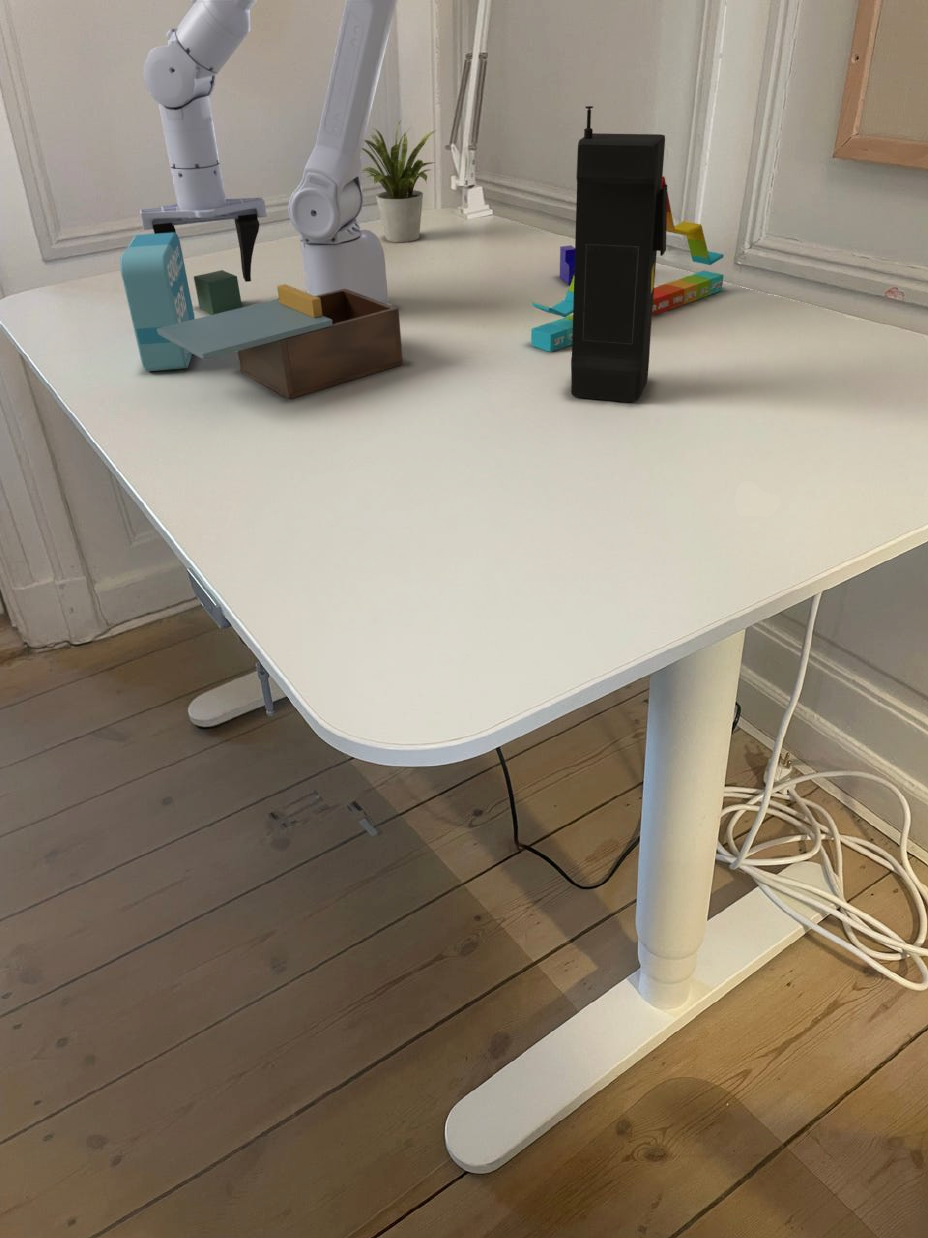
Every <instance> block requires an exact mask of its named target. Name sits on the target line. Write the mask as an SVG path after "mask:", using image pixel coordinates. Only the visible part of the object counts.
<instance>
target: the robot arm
mask: <svg viewBox="0 0 928 1238" xmlns="http://www.w3.org/2000/svg"><path fill="white" fill-rule="evenodd" d="M189 1H190V3H191V4H192V6H191V7H190V8H189V10H188V12H187V13H186V14H185V16H184V17H183V18H182V19H181V21H180V23H178V25H177V26H176V28H175V27H173V28H170V29H169V30H168V31H167V32H166V34H165V37H166V39H167V45H160V46H156V47H153V48H152V49H150V50H149V51H148V53H147V57H146V59H145V61H144V63H143V68H142V69H143V70H142V76H143V81H144V85H145V87H146V89H147V91H148V93H149V95H150V96H151V97H152V99H153V100H155V101H156V102H157V105H158V110H159V115H160V120H161V121H160V122H161V127H162V132H163V137H164V142H165V147H166V153H167V159H168V163H169V168H170V172H171V178H172V183H173V188H174V194H175V199H176V203H174V204H168V205H162V206H157V207H149V208H143V209H142V208H141V209H139V214H140V219H141V224H142V228H143V230H144V231H149V230H152V231H153V234H161V233H176V234H177V232H176V228H175V226H182V225H184V226H185V225H192V224H193V225H194V224H200V223H201V224H202V223H210V222H220V221H228V220H229V221H230V220H233V221H234V225H235V230H236V235H237V241H238V247H239V252H240V253H239V255H240V264H241V273H242V278H243V279H244V282H245V283H249V282H252V262H253V261H252V260H253V254H254V248H255V244H256V240H257V237H258V234H259V232H260V231H259V230H260V221H259V218H266V217H267V210H266V203H265V200H264V198H263V197H262V196H259V197H246V198H243V197H242V198H227V197H226V190H225V185H224V179H223V172H222V167H221V166H222V165H221V161H220V153H219V148H218V142H217V136H216V130H215V124H214V119H213V113H212V106H211V100H210V99H211V95H212V93H213V91H214V90H215V85H216V76H217V75H218V74H219V72H220V71H221V70H222V68H223V67H224V66H225V65H226V64H227V62H228V61H229V59H230V58H231V57H232V56H233V54H234V53H235V52H236V50H237V49H238V48H239V47H240V45H241V44H242V42H243V41H244V40H245V39H246V37H247V36H248V34H249V33H250V32H251V29H252V28H251V27H252V26H251V25H252V24H251V23H252V22H251V9H252V8H253V7H254V5H255V4H256V3H257V2H258V0H189ZM397 2H398V0H345V2H344V6H343V11H342V16H341V20H340V25H339V30H338V35H337V39H336V40H337V41H336V45H335V50H334V54H333V58H332V59H333V60H332V64H331V69H330V74H329V79H328V84H327V88H326V93H325V98H324V102H323V106H322V107H323V108H322V113H321V117H320V121H319V125H318V132H317V137H316V141H315V145H314V148H313V149H312V152H311V154H310V156H309V158H308V160H307V162H306V164H305V166H304V169H303V174H302V178H301V181H300V183H299V184H298V185H297V187H296V188H295V189H294V190H293V191H292V193H291V194H290V197H289V200H288V209H287V211H288V216H289V220H290V222H291V225H292V227H293V228H294V230H295V231H296V232H297V233H298V234H299V235H298V236H299V241H300V242H299V243H300V250H301V257H302V264H303V265H302V266H303V272H304V280H305V288H306V289H305V290H306V293H308V294H311V295H313V296H317V295H321V294H325V293H329V292H333V291H337V290H341V289H348V290H351V291H353V292H356V293H359V294H361V295H364V296H367V297H369V298H372V299H374V300H377V301H380V302H382V303H385V304H388V305H390V306H393V304H392V303H390V302H389V296H388V284H387V269H386V268H387V267H386V258H385V253H384V249H383V244H382V242H381V240H380V239H379V237H378V236H377V234H376V233H375V232H373V231H372V230H370V229H361V227H360V224H359V222H358V220H357V217H359V215H360V213H361V212H362V210H363V205H364V192H363V187H362V175H363V173H362V172H364V171H363V169H364V164H363V160H362V151H363V150H362V148H364V147H363V146H364V142H365V141H364V140H365V138H366V134H367V129H368V126H369V120H370V117H371V113H372V108H373V105H374V100H375V96H376V91H377V88H378V83H379V78H380V75H381V70H382V66H383V61H384V57H385V54H386V50H387V44H388V40H389V37H390V33H391V28H392V23H393V19H394V15H395V12H396V11H395V10H396V7H397Z"/></svg>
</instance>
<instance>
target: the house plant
mask: <svg viewBox="0 0 928 1238" xmlns="http://www.w3.org/2000/svg"><path fill="white" fill-rule="evenodd" d="M401 122H402V119H401V120H400V121H399V122H398V124H397V128H396V131H395V140H394V145H392V146H391V147H390V153H389V152H388V149H387V145H386V142H385V139H384V137H383V135H382V134H381V132H380V131H378V130H377V129H376V128H373V127H372V129H373V130H375V131H376V132H377V135H378V136H379V137H378V136H377V135H376V134H375V133H373V132H372V131H370V136H371V138H372V140H373V141H374V142H373V141H371V140H369V139H364V142H365V144H367V145H368V147H369V148H370V150H371V151H372V152H373V154H374V155H375V156H374V155H373V154H372V152H370V150H368V149H366V148H364V147H362V151H364V152H365V153H366V154H367V155H368V156H369V158H371V160H372V161H373V162H374V164H375V165H376V167H377V169H378V170H379V171H378V170H377V169H376V168H373V167H371V166H369V167H364V168H363V172H362V174H363V173H365V174H366V173H368V174H369V175H366V176H365V177H364V179H366V178H367V177H373V178H374V179H373V186H374V187H375V186H376V184H377V183H379V184H380V185H381V186H382V187H383V189H384V190H385V191H382V192H379V193H377V194H376V196H375V197H376V202H377V207H378V211H379V215H380V219H381V223H382V228H383V233H384V236H385V240H386V241H388V242H393V243H405V242H406V243H408V242H413V241H416V240H418V239H419V238H420V232H421V223H422V222H421V221H422V210H423V200H424V199H423V198H424V192H422V191H419V190H415V189H414V188H415V185H416V183H417V181H418V179H419V178H420V177H421V178H422V179H423V180H424V181H425V183H426V185H427V180H428V175H427V174H426V172H429V171H431V169H430V168H429V169H428V168H427V169H424V170H422V171H421V169H422V168H423V167H425V166H427V165H432V164H435V163H436V162H435V161H432V162H431V161H430V162H423V160H422V159H417V160H416V158H417V156H418V154H419V153H420V151H421V150H422V148H423V147H424V146H425V144H426V142H427V140H429V138H430V136H431V135H432V134H434V133H435V132H437V129H436V130H435V129H434V130H433V131H430V132H429V133H427V134H426V135H425V136H424V137H423V138H421V140H420V141H419V143H418V144H417V146H415V147H414V149H413V150H412V151H411V153H410V155H409V156H408V158H407V152H408V136H407V132H404V134H403V135H402V136H401V138H400V140H399V143H398V132H399V128H400V124H401ZM411 128H412V126H409V128H408V129H407V131H409V130H410V129H411ZM402 140H403V141H402ZM400 148H401V155H400ZM376 158H377V159H378V161H379V162H378V161H377V159H376ZM399 158H400V159H399ZM406 158H407V161H406ZM415 160H416V161H415ZM379 163H380V164H379ZM381 165H382V167H383V169H384V170H385V172H384V170H383V169H382V167H381ZM433 172H435V171H434V170H433ZM385 173H386V174H387V175H386V174H385Z"/></svg>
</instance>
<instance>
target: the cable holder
mask: <svg viewBox="0 0 928 1238" xmlns="http://www.w3.org/2000/svg"><path fill="white" fill-rule="evenodd" d="M559 248H560V249H559V279H560V280H561V281H563V282H564V283H565V284H566V285H568V286H570V285H571V282H572V280H573V277H574V270H575V246H573V245H572V244H571V245H563V246H559Z"/></svg>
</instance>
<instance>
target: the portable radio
mask: <svg viewBox="0 0 928 1238" xmlns="http://www.w3.org/2000/svg"><path fill="white" fill-rule="evenodd" d="M584 107H585V108H584V109H587V110H586V128H584V129H583V137H582V138H580V139H579V140H578V142H577V157H576V158H577V159H576V161H577V162H576V175H575V176H576V203H575V204H576V205H575V206H576V207H575V209H576V210H575V240H574V241H575V243H574V248H575V270H574V303H573V313H572V315H573V336H572V344H571V358H570V378H571V379H570V380H571V381H570V382H571V383H570V384H571V388H570V393H571V396H573V397H574V398H581V399H592V400H602V401H603V400H604V401H612V402H623V403H632V402H635V400H636V401H637V400H638V399H639V398H640V397H641V396H642V394H643V392H644V390H645V387H646V386H647V384H648V380H649V379H648V378H649V366H650V351H651V337H652V322H653V321H652V319H653V316H652V309H653V295H654V288H655V282H656V280H655V279H656V268H657V254H658V253H657V252H659V255H660V257H663V256H664V255H665V253H666V252H667V231H666V228H667V192H668V184H666V185H664V187H663V188H662V176H663V174H664V162H665V149H666V135H664V134H658V133H656V134H655V133H594V131H593V128H592V127H591V125H592V123H591V120H592V109H593V108H594V106H592V105H585V106H584Z"/></svg>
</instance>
